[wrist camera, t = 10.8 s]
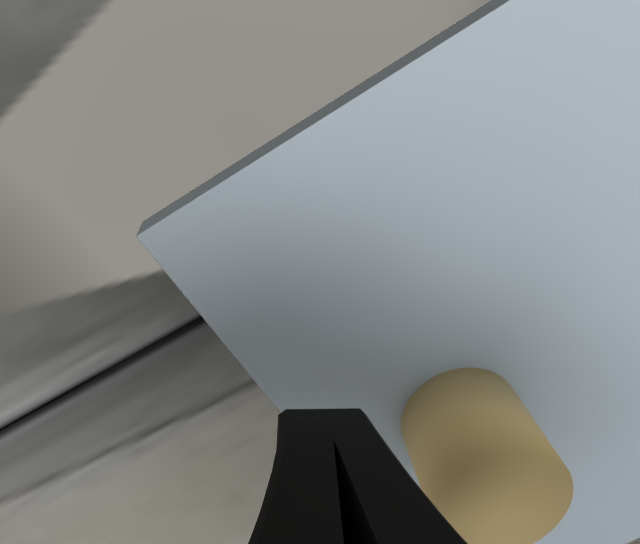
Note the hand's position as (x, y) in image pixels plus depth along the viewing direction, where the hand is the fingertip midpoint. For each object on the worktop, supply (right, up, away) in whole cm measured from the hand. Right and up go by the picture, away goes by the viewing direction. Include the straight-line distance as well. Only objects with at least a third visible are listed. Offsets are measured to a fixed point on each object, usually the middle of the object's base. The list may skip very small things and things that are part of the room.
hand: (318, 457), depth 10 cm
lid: (+7, +3, +4) cm, 9 cm away
